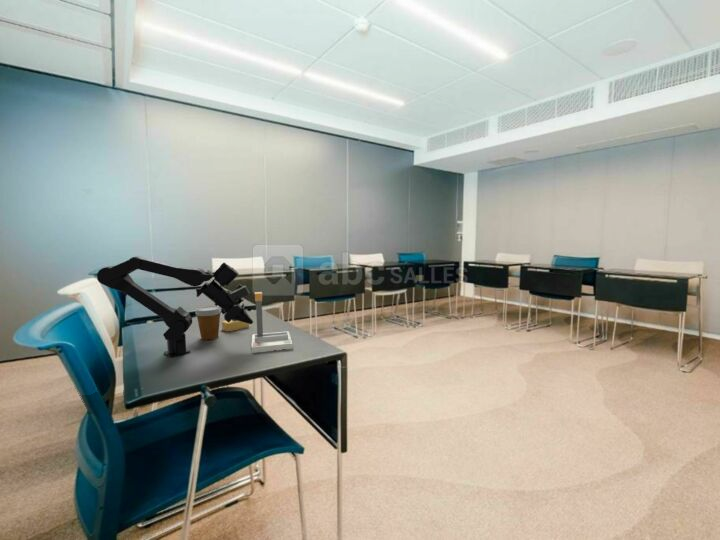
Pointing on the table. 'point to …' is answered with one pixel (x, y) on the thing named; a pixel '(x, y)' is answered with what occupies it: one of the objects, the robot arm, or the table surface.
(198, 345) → the table surface
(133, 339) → the table surface
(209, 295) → the robot arm
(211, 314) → the disposable coffee cup
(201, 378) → the table surface
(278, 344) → the switch base
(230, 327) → the rubber stamp
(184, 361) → the table surface
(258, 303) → the switch handle
